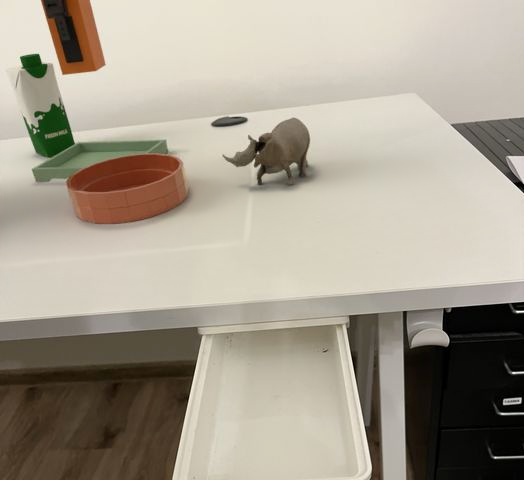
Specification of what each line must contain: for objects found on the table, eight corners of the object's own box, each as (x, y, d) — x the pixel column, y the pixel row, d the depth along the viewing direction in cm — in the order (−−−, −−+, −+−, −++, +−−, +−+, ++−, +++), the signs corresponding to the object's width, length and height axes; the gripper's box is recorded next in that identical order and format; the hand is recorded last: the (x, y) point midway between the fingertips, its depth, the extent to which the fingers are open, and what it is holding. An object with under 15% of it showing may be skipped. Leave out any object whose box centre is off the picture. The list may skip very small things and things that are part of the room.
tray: (35, 181, 110) (31, 169, 109) (81, 153, 124) (78, 142, 122) (130, 180, 104) (127, 167, 103) (168, 151, 118) (165, 139, 116)
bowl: (54, 226, 89) (42, 193, 86) (111, 183, 104) (103, 154, 101) (160, 228, 84) (152, 193, 81) (204, 183, 99) (199, 152, 95)
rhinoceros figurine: (341, 152, 96) (295, 87, 86) (300, 216, 95) (247, 159, 85) (312, 149, 102) (264, 88, 92) (272, 210, 101) (220, 155, 91)
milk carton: (46, 159, 123) (13, 60, 111) (30, 153, 128) (-3, 58, 117) (82, 148, 127) (53, 51, 115) (64, 143, 133) (36, 50, 121)
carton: (62, 75, 93) (32, -29, 85) (73, 68, 98) (46, -30, 90) (96, 71, 93) (69, -34, 84) (105, 65, 98) (81, -35, 89)
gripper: (34, -127, 73) (85, 66, 87) (79, -114, 88) (116, 48, 102) (-19, -119, 74) (40, 71, 87) (34, -108, 89) (77, 52, 103)
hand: (81, 58), depth 95 cm, fingers closed on carton, 6 cm apart
